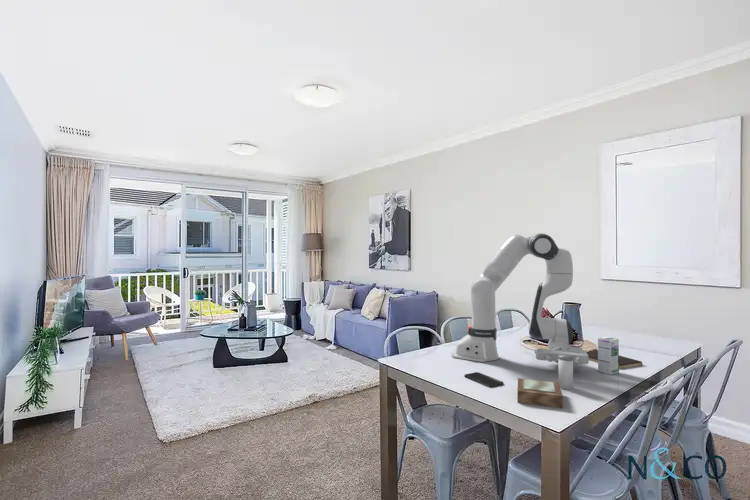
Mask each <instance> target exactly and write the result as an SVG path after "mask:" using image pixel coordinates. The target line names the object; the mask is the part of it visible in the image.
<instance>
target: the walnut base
mask: <svg viewBox="0 0 750 500" xmlns="http://www.w3.org/2000/svg"><path fill="white" fill-rule="evenodd" d="M563 397H564V396H563V392H562V389H561V388H560V385H559V383H558V382H555V381H547V380H540V379H539V380H538V379H531V378H520V377H518V378H517V397H516V398H517V403H521V404H526V405H527V404H529V405H536V406H542V407H549V406H550V408H557V407H558V408H557V409H563V408H564V407H563V405H564V404H563V403H564V402H563V399H564V398H563Z"/></svg>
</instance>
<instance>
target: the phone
mask: <svg viewBox="0 0 750 500" xmlns="http://www.w3.org/2000/svg"><path fill="white" fill-rule="evenodd" d="M463 377H464V378H466V379H468V380H470V381H473V382H475V383H478V384H480V385H482V386H484V387H487V388H496V387H500V386H505V385H504V381H502V380H499V379H496V378H494V377H491V376H489V375H486V374H484V373H481V372H478V371H474V372H471V373H466V374H464V376H463Z"/></svg>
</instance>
